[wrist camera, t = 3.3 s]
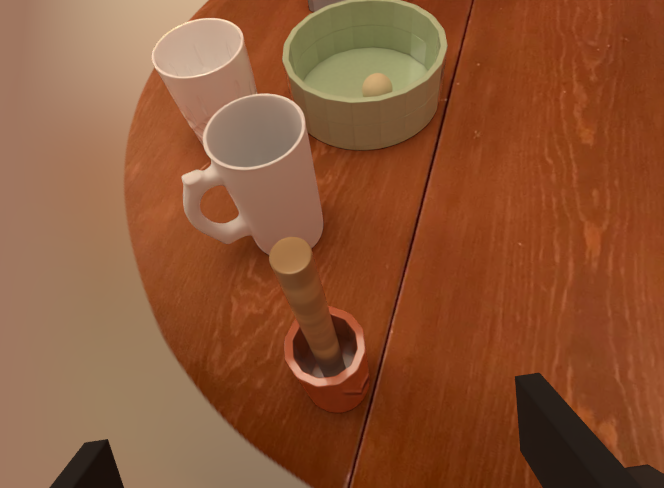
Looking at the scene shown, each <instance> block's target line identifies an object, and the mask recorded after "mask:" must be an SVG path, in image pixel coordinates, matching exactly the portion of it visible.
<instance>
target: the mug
mask: <svg viewBox="0 0 664 488" xmlns="http://www.w3.org/2000/svg"><path fill="white" fill-rule="evenodd" d="M203 145H204V149H205V151H206V153H207V155H208V156H209V157H210V159H211V165H210V167H208V168H207V169H206V170H203V171H200V170H194V171H192V172H190V173H187V174H184V175H183V176H182V181H183V185H184V189H183V204H184V210H185V213H186V216H187V218H188V219H189V221H190V222H191V223H192V225H193V226H194V227H196V228H197V229H198V230H199V231H201V232H202V233H204V234H206V235H208V236H210V237H213V238H215V239H217V240H219V241H221V242H223V243H225V244H231V243H233V242H234V241H236V240H238V239H240V238H242V237H244V236H249V235H250V236H253V238H254V240H255V242H256V244H257V245H258V246H259V248H260V249H261V250H262V251H264V252H265V253H266V254H268V255H269V254H270V251H271V249H272V247H273V246H274V245H275V244H276V243H277V242H278V241H280V240H281V239H284V238H287V237H298V238H301V239H303V240H305V241H306V242H307V243H308V244H309V245H310V247H311V248H313V247H314V246H315V245H316V243H317V242H318V241H319V239H320V237H321V235H322V231H323V216H322V210H321V204H320V198H319V193H318V188H317V182H316V177H315V171H314V166H313V160H312V154H311V149H310V143H309V138H308V133H307V129H306V123H305V117H304V114H303V112H302V110H301V109H300V107H299V106H298V105H297V104H296V103H294V102H293V101H291V100H290V99H288V98H285V97H283V96H279V95H275V94H254V95H249V96H245V97H242V98H239V99H236V100H234V101H232V102H230V103H228V104H227V105H225V106H224V107H222V108H221V109H220V110H218V111H217V112H216V113H215V114H214V115H213V117H212V118H211V119H210V120H209V122H208V124H207V126H206V128H205V130H204V134H203ZM218 185H223V186H225V187H226V188H227V190H228V192H229V194H230V196H231V197H232V199H233V201H234V203H235V205H236V207H237V208H238V210H239V215H238V217H237V218H236V219H234V220H232V221H230V222H228V223H223V224H221V223H215V222H212V221H210V220H209V219H207V218H206V217H205V216H204V215H203V214H202V213H201V210H200V201H201V198H202V196H203V195H204V193H205V192H206V191H207V190H209V189H210V188H212V187H214V186H218Z"/></svg>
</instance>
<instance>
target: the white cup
mask: <svg viewBox="0 0 664 488" xmlns="http://www.w3.org/2000/svg"><path fill="white" fill-rule="evenodd" d="M152 62H153V65H154V67H155V68H156V70H157V72H158V73H159V75H160V77H161V79H162V80H163V82H164V84H165V85H166V87H167V89H168V91H169V92H170V94H171V96H172V97H173V99H174V101H175V103H176V104H177V106H178V107H179V109H180V111H181V112H182V114H183V115H184V117H185V119H186V120H187V122H188V124H189V125H190V127H191V128H192V130H194V132H195V134H196V135H197V137H198V139H199V141H200V142H201V144H202V145H203V134H204V130H205V128H206V126H207V124H208V122H209V120H210V119H211V118H212V117H213V115H214V114H215V113H216V112H217V111H218V110H220V109H221V108H222V107H224V106H225V105H227V104H228V103H230V102H232V101H234V100H236V99H239V98H242V97H245V96H249V95H254V94H257V89H256V86H255V82H254V76H253V72H252V69H251V65H250V61H249V57H248V53H247V49H246V45H245V41H244V37H243V34H242V32H241V30H240V29H239V27H238V26H236V25H235V24H234V23H232V22H230V21H227V20H223V19H218V18H204V19H197V20H193V21H189V22H186V23H184V24H182V25H179V26H177V27H175V28H174V29H172V30H170V31H169V32H167V33H166V34H165V35H164V36H163V37H162V38H161V39H160V40H159V41H158V42H157V44H156V45H155V47H154V49H153V52H152ZM203 146H204V145H203Z"/></svg>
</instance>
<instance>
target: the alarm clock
mask: <svg viewBox="0 0 664 488" xmlns="http://www.w3.org/2000/svg"><path fill="white" fill-rule="evenodd" d="M341 1H345V0H308V4H309V10H310V11H313V12H316V11H318V10H320V9H321V8H323V7H325V6H328V5H331V4H334V3H338V2H341Z"/></svg>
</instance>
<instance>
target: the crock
mask: <svg viewBox="0 0 664 488" xmlns="http://www.w3.org/2000/svg"><path fill="white" fill-rule="evenodd" d="M328 308H329V312H330V315H331V318H332V322H333V325H334V329H335V332H336V336H337V339H338V343H339V346H340V349H341V353H342V356H343V360H344V363H345V367H346V369H345V370H343V371H342V372H341V373H339V374H338V375H337V376H331V377H324V376H323V374H322V372H321V370H320V367H319V365H318V363H317V361H316V359H315V357H314V355H313V353H312V351H311V349H310V347H309V344H308V342H307V340H306V338H305V336H304V334H303V332H302V330H301V328H300V326H299V323H298V321H297V319H296V320H295V321H294V322H293V324H292V326H291V327H290V329H289V331H288V333H287V335H286V337H285V340H284V347H285V361H286V363H287V364H288V366H289V367H290V369H291V370H292V372H293V373H294V375H295V376H296V378H297V379H298V381H299V382H300V384H301V385H302V387H303V388H304V389H305V391H306V392H307V394H308V395H309V397H310V398H311V400H312V401H313V402H314V404H315V405H316V406H318V407H320V408H321V409H323V410H325V411H328V412H332V413H342V412H346V411H349V410H351V409H353V408H355V407H356V406H358V405H359V404H360V403H361V402H362V400H363V399H364V397H365V396H366V394H367V391H368V388H369V384H370V376H369V369H368V361H367V353H366V345H365V338H364V331H363V329H362V327H361V326H360V325H359V324H358V322H357V321H356V320H355V319H354V317H353V316H352V315H351V314H350V313H348V312H345V311H342V310H340V309H337V308H335V307H331V306H329V307H328Z"/></svg>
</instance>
